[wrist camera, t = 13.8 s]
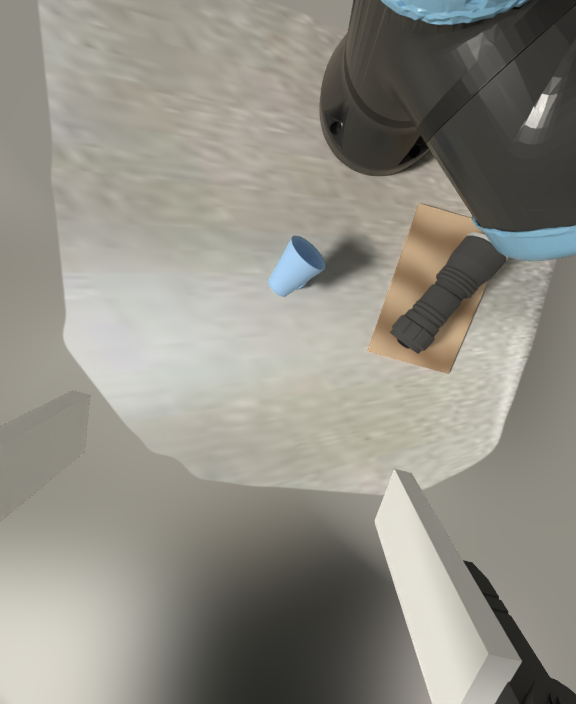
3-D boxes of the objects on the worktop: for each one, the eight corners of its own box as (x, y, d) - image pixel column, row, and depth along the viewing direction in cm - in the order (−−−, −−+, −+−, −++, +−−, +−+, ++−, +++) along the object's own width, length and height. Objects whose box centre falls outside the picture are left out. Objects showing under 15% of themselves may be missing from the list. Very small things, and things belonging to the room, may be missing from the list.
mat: (418, 204, 39) (420, 203, 39) (507, 230, 39) (509, 229, 39) (367, 350, 44) (368, 351, 44) (447, 372, 44) (448, 373, 44)
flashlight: (410, 352, 43) (425, 363, 38) (381, 330, 43) (392, 337, 38) (490, 261, 40) (519, 258, 35) (459, 235, 39) (483, 229, 34)
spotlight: (299, 237, 41) (264, 276, 42) (299, 225, 31) (254, 276, 32) (326, 264, 41) (290, 301, 43) (333, 260, 32) (287, 309, 33)
